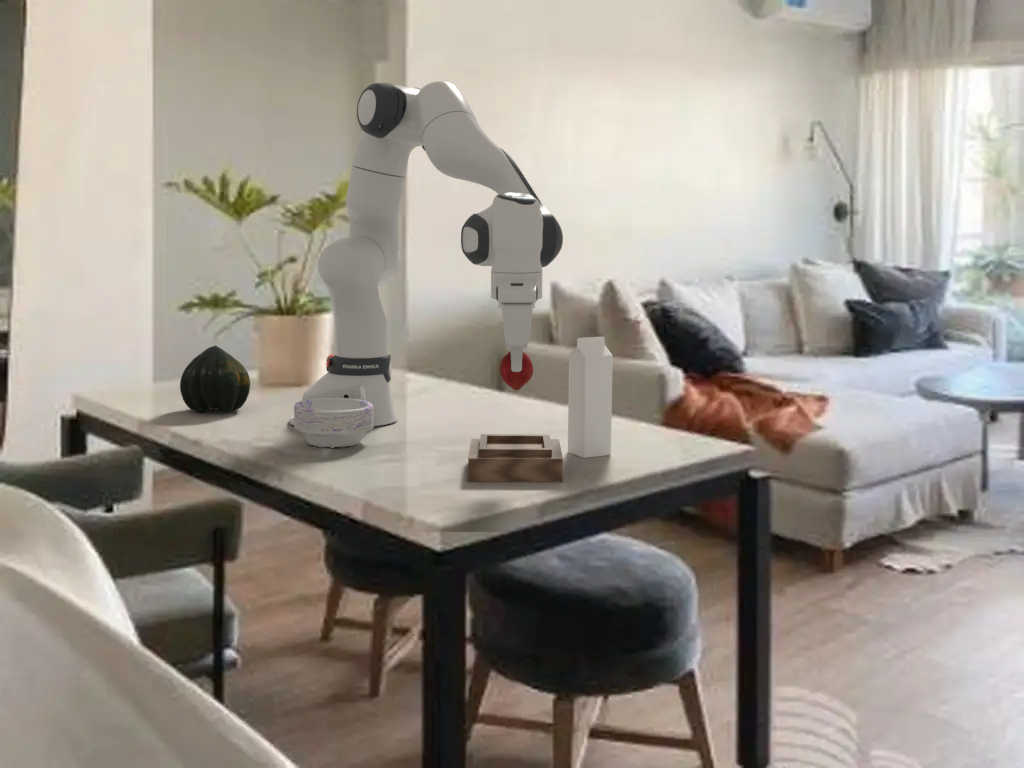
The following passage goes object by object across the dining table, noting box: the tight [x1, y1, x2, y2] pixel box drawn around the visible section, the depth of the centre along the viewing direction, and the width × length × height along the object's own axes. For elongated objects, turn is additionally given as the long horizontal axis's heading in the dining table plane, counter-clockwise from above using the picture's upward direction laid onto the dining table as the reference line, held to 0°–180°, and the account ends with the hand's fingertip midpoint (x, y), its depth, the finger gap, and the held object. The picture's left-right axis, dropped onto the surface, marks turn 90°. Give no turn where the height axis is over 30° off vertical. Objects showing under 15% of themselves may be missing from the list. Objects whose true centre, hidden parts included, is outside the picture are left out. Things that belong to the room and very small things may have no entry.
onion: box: [499, 351, 534, 391], centre depth 207 cm, size 6×6×8 cm
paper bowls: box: [293, 398, 374, 448], centre depth 230 cm, size 15×15×8 cm
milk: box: [567, 336, 614, 459], centre depth 222 cm, size 6×6×22 cm
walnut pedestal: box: [467, 433, 564, 483], centre depth 209 cm, size 16×16×5 cm
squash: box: [179, 345, 251, 414], centre depth 263 cm, size 14×15×15 cm
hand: (516, 368), depth 207 cm, fingers closed on onion, 6 cm apart
